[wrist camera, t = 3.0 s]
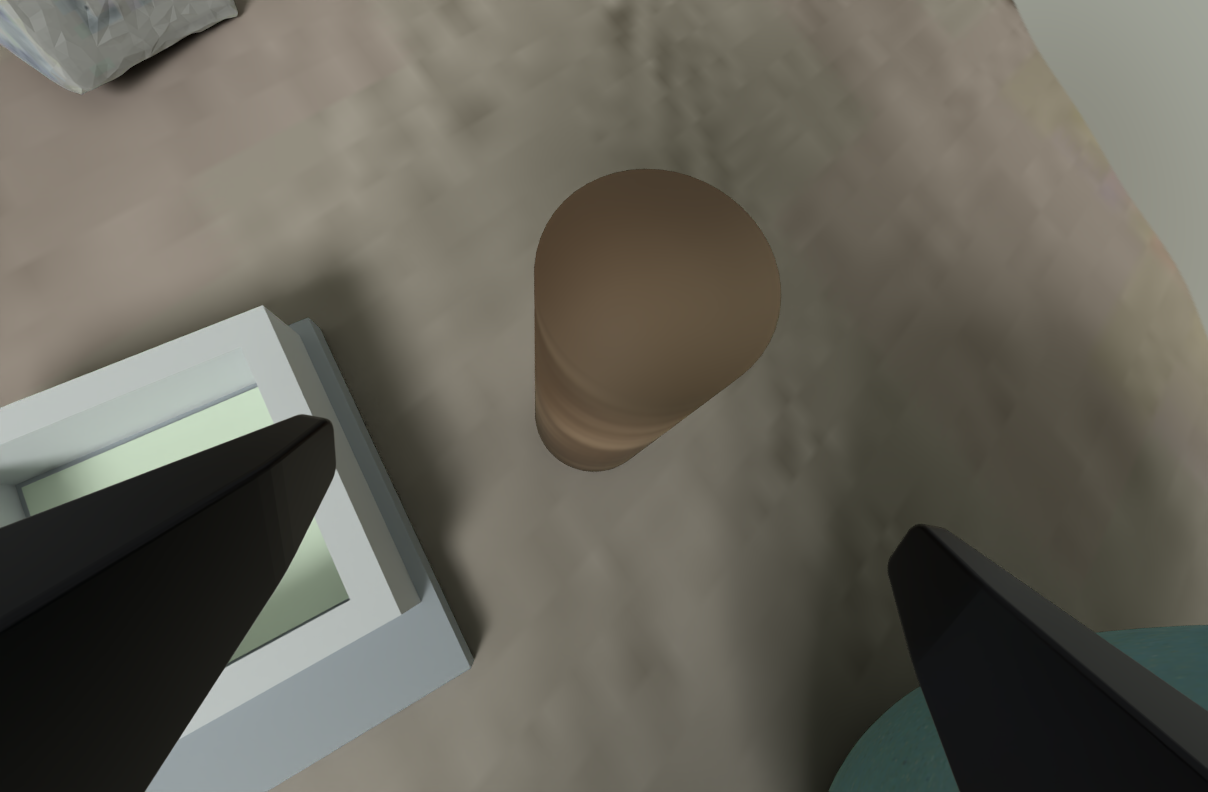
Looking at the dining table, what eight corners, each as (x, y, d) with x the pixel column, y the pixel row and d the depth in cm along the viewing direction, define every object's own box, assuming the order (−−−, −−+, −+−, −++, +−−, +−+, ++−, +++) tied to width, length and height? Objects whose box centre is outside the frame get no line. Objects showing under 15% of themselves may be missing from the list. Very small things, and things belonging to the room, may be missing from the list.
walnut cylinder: (671, 437, 20) (827, 331, 9) (569, 492, 19) (613, 445, 8) (615, 340, 20) (700, 138, 10) (514, 388, 19) (489, 220, 9)
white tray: (474, 660, 17) (459, 692, 14) (71, 903, 14) (-74, 1019, 11) (319, 328, 19) (273, 284, 16) (-58, 483, 16) (-213, 471, 13)
